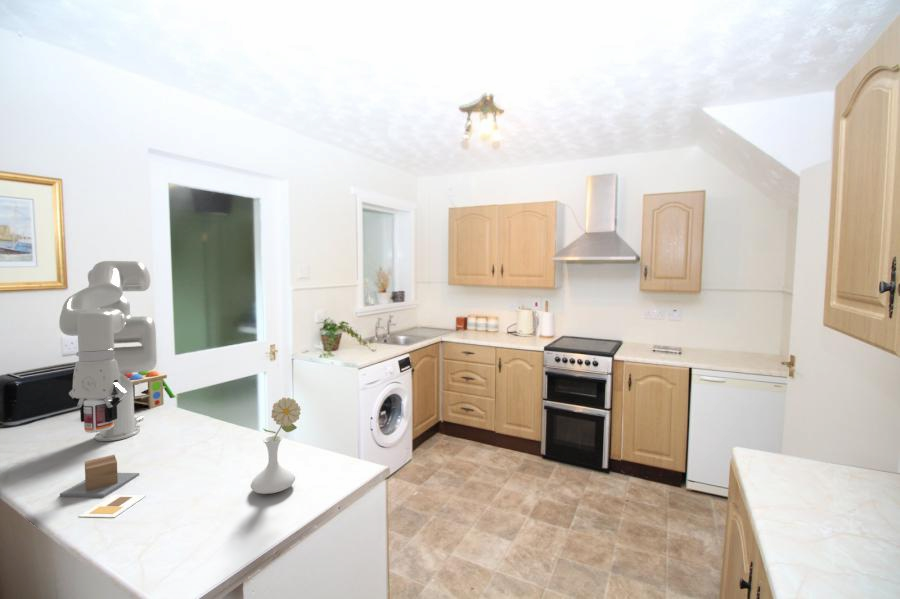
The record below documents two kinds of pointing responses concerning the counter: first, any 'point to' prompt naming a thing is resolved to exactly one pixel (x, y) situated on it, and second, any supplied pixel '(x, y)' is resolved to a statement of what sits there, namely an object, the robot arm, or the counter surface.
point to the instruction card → (112, 506)
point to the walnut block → (101, 472)
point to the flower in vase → (274, 474)
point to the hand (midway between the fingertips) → (99, 419)
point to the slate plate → (81, 490)
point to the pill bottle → (95, 416)
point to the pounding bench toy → (150, 388)
